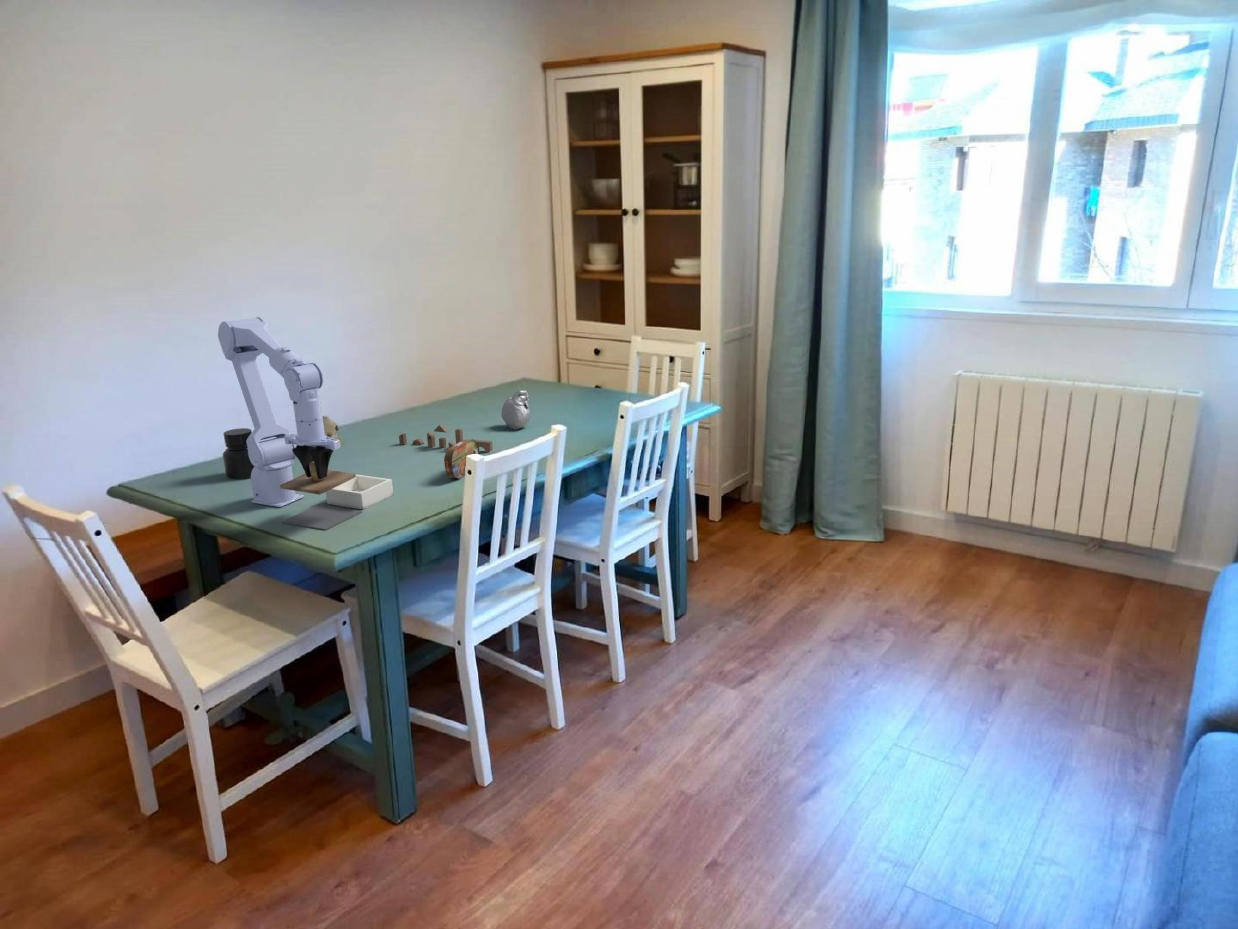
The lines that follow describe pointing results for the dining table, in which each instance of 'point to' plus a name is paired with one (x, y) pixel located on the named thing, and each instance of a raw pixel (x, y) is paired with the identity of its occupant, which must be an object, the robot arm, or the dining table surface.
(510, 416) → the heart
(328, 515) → the mat
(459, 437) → the wooden blocks
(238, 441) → the ink bottle
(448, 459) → the tin
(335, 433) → the ceramic model
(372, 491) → the box
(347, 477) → the lid
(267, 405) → the robot arm
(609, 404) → the dining table surface
